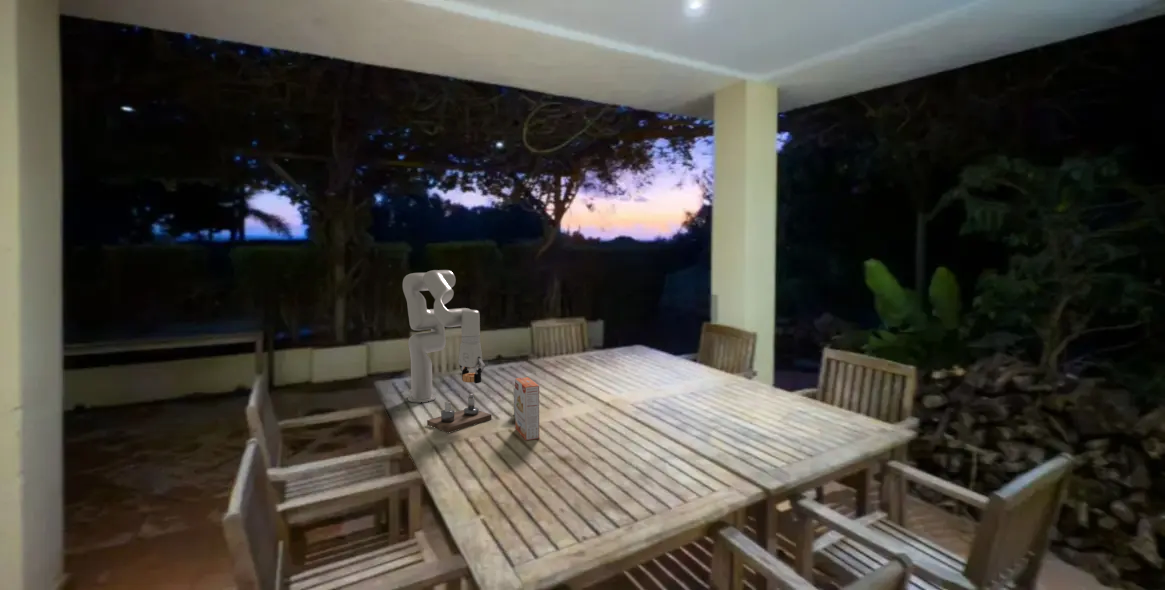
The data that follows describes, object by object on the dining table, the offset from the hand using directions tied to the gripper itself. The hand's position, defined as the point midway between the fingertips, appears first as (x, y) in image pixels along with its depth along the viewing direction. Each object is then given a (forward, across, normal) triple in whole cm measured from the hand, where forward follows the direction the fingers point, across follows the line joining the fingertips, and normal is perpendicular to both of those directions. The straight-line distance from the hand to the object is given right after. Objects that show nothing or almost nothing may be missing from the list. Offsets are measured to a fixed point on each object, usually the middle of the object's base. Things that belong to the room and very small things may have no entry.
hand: (471, 381), depth 221 cm
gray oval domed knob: (+14, -1, -12) cm, 19 cm away
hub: (+14, -1, 0) cm, 14 cm away
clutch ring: (0, 0, 0) cm, 0 cm away
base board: (+16, -1, -6) cm, 17 cm away
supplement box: (+17, +11, +19) cm, 28 cm away
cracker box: (+17, +30, +2) cm, 35 cm away
